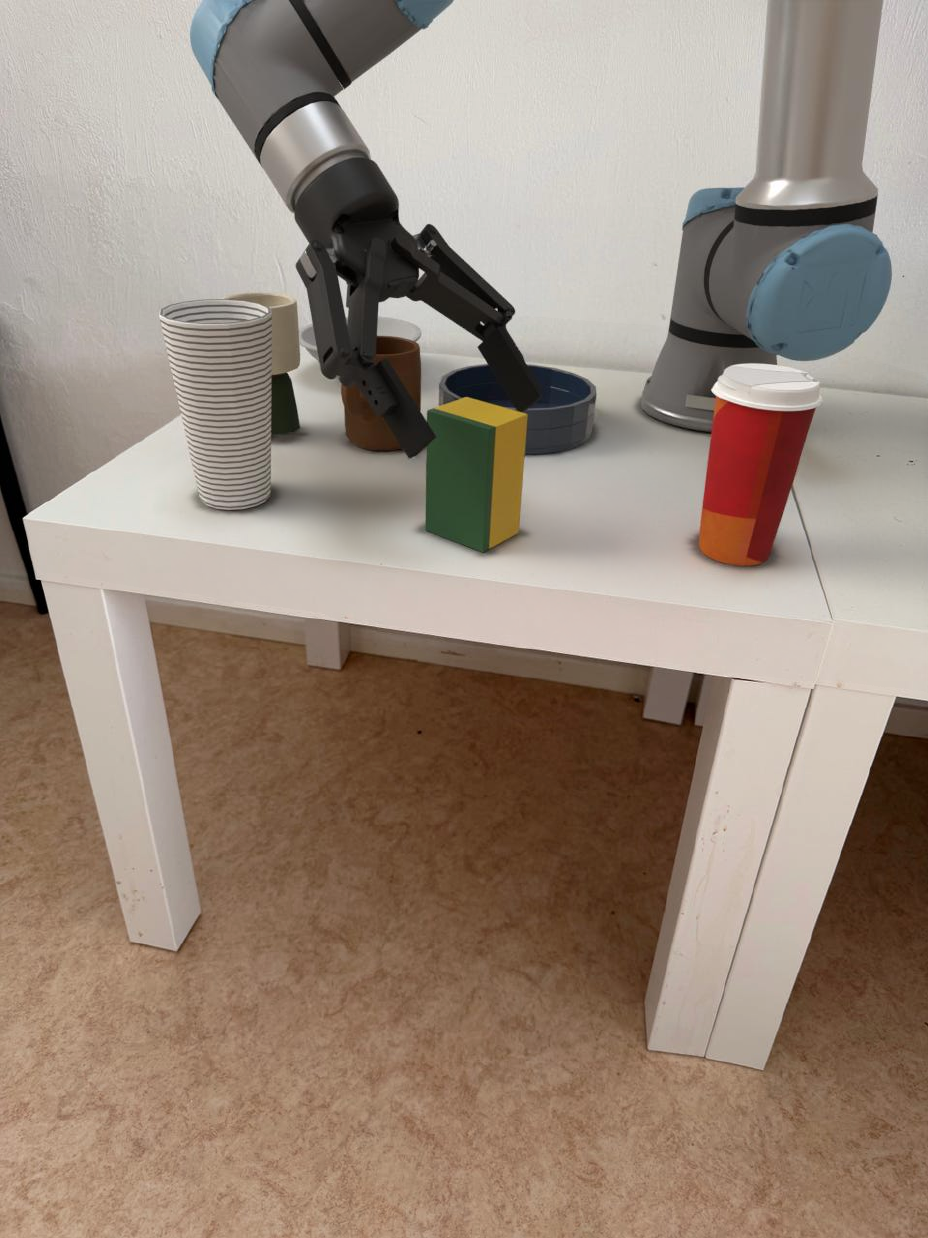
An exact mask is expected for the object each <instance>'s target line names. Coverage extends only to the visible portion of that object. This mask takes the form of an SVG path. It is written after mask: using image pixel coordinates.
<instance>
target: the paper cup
mask: <svg viewBox="0 0 928 1238" xmlns="http://www.w3.org/2000/svg"><path fill="white" fill-rule="evenodd" d="M820 387H821V383H820V381H818V380H817V379H816V378H814V377H813V376H812V375H811V374H809V372H807V371H804V370H801V369H797V368H794V367H790V366H785V365H784V366H783V365H778V364H777V365H771V364H757V363H749V364H737V365H732V366H730V367H728V368H726V369H725V370H724V373H723V375H722V376H720V377H719V378H718V381H717V382H716V383H715V385H714V386H713V388H712V389H711V391H712V392H713V393H714V394H715V395H716V401H715V409H714V417H713V425H712V432H710V433H711V434H710V440H709V441H710V442H709V449H708V450H709V451H708V457H707V465H706V473H705V482H704V490H703V497H702V506H701V514H700V522H699V532H698V548H699V550H700V552H701V553H702V554H703V555H704V556H706V557H708V558H709V559H712V560H714V561H716V562H719V563H721V564H725V565H731V566H739V567H749V566H755V565H756V566H757V565H760V564H762V563H765V562H766V561H767V560H768V559H769V557H770V555H771V552H772V549H773V546H774V544H775V540H776V537H777V534H778V532H779V528H780V525H781V522H782V519H783V515H784V512H785V508H786V506H787V502H788V501H789V500H788V499H789V496H790V493H791V490H792V487H793V484H794V481H795V478H796V475H797V471H798V468H799V464H800V462H801V458H802V454H803V452H804V448H805V444H806V441H807V437H808V434H809V431H810V427H811V425H812V421H813V419H814V415H815V412H816V408H818V407H820V406H821V405H822V404H823V397H822V394H821V393H820V391H821V390H820Z"/></svg>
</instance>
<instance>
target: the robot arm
mask: <svg viewBox="0 0 928 1238" xmlns="http://www.w3.org/2000/svg"><path fill="white" fill-rule="evenodd" d="M454 1H455V0H202V1H201V2H200V4H199V5H198V7H197V9H196V10H195V12H194V15H193V18H192V21H191V24H190V29H189V39H190V40H189V41H190V47H191V50H192V53H193V56H194V57H195V59H196V61H197V63H198V65H199V67H200V68H201V70H202V72H203V74H204V75H205V77H206V79H207V81H208V83H209V84H210V86H211V91H212V94H213V95H214V96H215V98H216V100H218V101H219V103H220V105H221V106H222V108H223V109H224V111H225V112H226V114H227V115H228V117H229V119H230V120H231V121H232V123H233V125H234V126H235V128H236V130H237V131H238V132H239V134H240V135H241V137H242V138H243V140H244V142H245V143H246V145H247V147H248V148H249V149H250V151H251V153H252V154H253V156H254V157H255V158H256V160H257V162H258V163H259V165H260V167H261V168H262V170H263V171H264V172H265V174H266V176H267V177H268V179H269V181H270V182H271V183H272V185H273V187H274V188H275V190H276V192H277V193H278V195H279V197H280V198H281V200H282V202H283V203H284V205H285V206H286V207H287V209H288V211H289V212H290V213H292V214H293V215H294V216H293V217H294V221H295V224H296V225H297V227H298V228H299V229H300V231H301V233H302V235H303V236H304V238H305V239H306V241H307V242H308V245H307V246H306V248H305V249H304V250H303V252H302V253H301V255H300V257H299V258H298V260H297V261H296V263H295V269H296V271H297V273H298V276H299V277H300V280H301V281H302V283H303V285H304V287H305V289H306V293H307V294H306V295H307V300H308V305H309V312H310V316H311V322H312V323H311V324H313V328H314V334H315V340H316V346H317V351H318V357H319V361H318V363H319V368H320V372H321V374H322V375H323V377H325V378H326V379H328V380H335V378H336V377H338V378H339V379H338V380H339V382H340V384H342V385H344V386H345V387H348V388H350V387H352V386H354V384H355V383H356V384H357V386H358V387H359V389H360V391H361V392H362V394H363V395H364V397H365V399H367V402H368V403H369V404H370V407H371V408H372V410H373V411H374V413H375V414H377V415H378V416H379V417H383V418H384V420H385V421H386V423H387V425H388V426H389V428H390V429H391V431H392V433H393V434H394V436H395V437H396V439H397V440H398V442H399V444H400V445H401V447H402V450H403V452H404V453H405V455H406V457H407V458H408V460H410V459H412V458H415V457H417V456H418V455H419V454H420V453H422V451H423V450H424V449H425V448H426V447H427V445H429V444H430V443H431V442H432V441H433V440H434V439H435V438H436V436H435V434H434V432H433V431H432V429H431V428H430V426H429V424H428V423H427V419H426V418H425V416H424V415H423V413H422V412H420V410H419V408H418V407H417V405H416V404H415V402H414V400H413V399H412V397H411V396H410V394H409V392H408V391H407V389H406V388H405V386H404V384H403V383H402V381H401V380H400V378H399V376H398V375H397V373H396V372H395V370H394V368H393V367H392V365H391V364H390V362H389V361H388V359H384V360H380V361H379V362H378V363H377V365H375V364H374V361H375V359H376V344H377V325H378V317H379V303H383V302H386V301H387V300H388V299H402V298H405V297H406V298H408V299H409V300H410V301H412V302H420V301H421V302H423V304H425V305H427V306H429V307H430V308H431V309H434V310H435V311H436V312H438V313H439V314H441V315H442V316H443V317H446V318H447V319H448V320H450V321H451V322H453V323H454V324H456V325H457V326H459V327H460V328H462V329H463V330H465V331H466V332H468V333H470V334H471V335H472V336H473V337H475V338H477V339H478V340H480V341H481V343H480V344H478V346H477V349H478V351H479V353H480V354H481V356H482V358H483V359H484V360H485V362H486V364H488V365H489V367H490V368H491V370H492V372H493V373H494V375H495V376H496V378H497V380H498V381H499V383H500V384H501V386H502V388H503V389H504V391H505V392H506V394H507V396H508V397H509V399H510V400H511V402H512V404H513V405H514V407H515V408H516V410H517V411H518V412H522V413H523V412H525V411H526V410H527V409H529V408H530V407H531V406H532V405H533V404H535V403H536V402H537V401H538V400H539V399H540V398H542V397H543V396H544V395H545V393H544V391H543V390H542V388H541V386H540V385H539V383H538V382H537V380H536V378H535V377H534V375H533V374H532V372H531V371H530V369H529V367H528V366H527V362H526V359H525V358H524V357H525V356H524V355H523V353H522V352H521V350H520V349H519V347H518V345H517V343H516V342H515V341H514V339H513V337H512V336H511V334H510V333H509V331H508V329H507V325H508V323H509V322H510V321H511V320H512V319H513V316H515V314H516V308H515V307H514V305H513V304H511V303H510V302H509V301H508V300H507V299H506V298H505V297H504V296H503V295H502V294H501V293H500V292H499V291H498V290H497V289H496V288H495V287H493V286H492V285H491V284H490V283H489V282H488V281H487V280H486V279H485V278H484V277H483V276H482V275H481V274H479V273H478V272H477V271H476V270H475V268H473V267H472V266H471V265H470V264H469V263H468V262H466V260H464V258H463V257H461V256H460V255H459V254H458V253H457V252H456V251H455V250H454V249H453V248H451V246H450V245H449V244H448V243H447V240H445V238H444V237H443V235H442V234H441V233H440V232H439V230H438V229H437V228H436V227H435V226H434V225H433V224H431V223H427V224H426V225H424V227H423V228H422V229H421V231H420V232H419V233H415V234H412V233H410V231H408V230H407V229H406V228H405V227H404V226H403V224H402V223H401V222H400V214H399V213H400V201H399V197H398V195H397V193H396V192H395V190H394V189H393V187H392V185H391V184H390V182H389V181H388V179H387V178H386V176H385V175H384V173H383V171H382V170H381V168H380V167H379V165H378V163H377V162H376V161H374V160H373V159H372V155H371V151H370V148H368V145H367V144H366V143H365V141H364V140H363V138H362V136H361V135H360V134H359V132H358V131H357V129H356V128H355V126H354V124H353V123H352V120H350V118H349V116H348V115H347V113H346V112H345V110H344V109H343V108H342V107H341V105H340V103H339V102H338V100H337V99H336V96H337V95H339V94H340V93H341V92H342V91H344V90H346V89H347V88H348V87H350V85H352V83H354V82H355V80H357V79H359V78H360V77H361V76H362V75H364V74H365V73H366V72H368V71H370V69H372V68H373V67H375V66H376V65H377V64H379V63H380V62H382V61H383V60H384V59H386V58H387V57H388V56H390V55H391V54H392V53H394V52H395V51H397V49H398V48H400V47H401V46H403V45H404V44H405V43H406V42H407V41H409V40H410V39H411V38H412V37H414V36H416V35H417V33H419V32H420V31H421V30H426V29H428V28H429V26H430V25H431V24H432V23H433V22H434V20H435V19H436V18H437V17H438V16H439V15H441V14H442V13H443V12H444V11H445V10H446V9H447V8H449V7H450V6H451V5H452V4H453V2H454ZM883 4H884V0H767V1H766V15H765V16H766V17H765V31H764V44H763V60H762V73H761V85H760V86H761V87H760V99H759V100H760V102H759V114H758V115H759V116H758V131H757V146H756V159H755V172H754V175H753V177H752V179H751V180H750V181H749V182H748V184H747V185H746V186H741V187H707V188H701V189H699V190H697V191H695V192H694V193H693V194H692V196H691V197H690V199H689V201H688V205H687V209H686V213H685V217H684V220H683V222H682V224H681V225H682V226H681V230H682V234H681V242H680V247H679V255H678V262H677V268H676V269H677V270H676V276H675V283H674V289H673V297H672V303H671V310H670V317H669V324H668V331H667V336H666V339H665V341H664V343H663V346H662V348H661V350H660V352H659V355H658V357H657V359H656V362H655V365H654V368H653V370H652V374H651V376H649V377H648V378H647V379H646V381H645V383H644V386H643V389H642V395H641V401H640V407H641V409H642V410H643V411H644V412H645V413H646V414H648V415H649V416H650V417H652V418H653V419H656V420H659V421H661V422H663V423H666V424H669V425H672V426H675V427H679V428H683V429H688V430H694V431H699V432H706V433H712V425H713V417H714V409H715V401H716V395H715V394H714V393H713V392H712V391H711V389H712V388H713V386H714V385H715V383H716V382H717V381H718V378H719V377H720V376H722V375H723V373H724V370H725V369H726V368H728V367H730V366H732V365H737V364H749V363H757V364H771V365H778V357H777V356H780V357H782V358H785V359H788V360H790V361H796V362H811V361H812V362H813V361H814V362H815V361H818V360H819V361H820V360H822V359H825V358H830V357H832V356H834V355H836V354H839V353H841V352H842V351H844V350H845V349H847V348H849V347H851V345H853V344H854V343H855V341H856V340H857V339H858V338H860V336H861V335H863V334H864V333H866V332H867V331H868V330H869V329H871V327H872V325H873V324H874V323H875V321H876V320H877V319H878V318H879V316H880V314H881V312H882V310H883V308H884V306H885V304H886V302H887V299H888V297H889V293H890V290H891V285H892V281H893V280H892V278H893V267H892V260H891V257H890V254H889V251H888V249H887V248H886V247H885V246H884V244H883V241H882V240H881V239H880V238H879V236H878V235H877V234H876V233H874V226H875V220H876V219H875V218H876V211H877V204H878V197H879V188H878V187H877V185H875V184H874V182H873V181H872V180H871V179H870V178H869V176H868V175H867V174H866V173H865V172H864V169H863V160H864V154H865V145H866V139H867V131H868V121H869V115H870V106H871V98H872V91H873V84H874V75H875V69H876V59H877V54H878V53H877V52H878V44H879V43H878V42H879V38H880V37H879V36H880V30H881V29H880V28H881V20H882V13H883ZM420 270H421V271H422V272H424V273H422V274H421V276H420ZM339 278H341V279H342V280H343V281H345V284H346V285H347V287H346V298H345V299H346V300H345V307H346V309H347V308H348V311H347V316H346V312H345V307H344V301H343V296H342V291H341V286H340V279H339ZM346 317H348V323H347V322H346Z"/></svg>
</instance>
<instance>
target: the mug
mask: <svg viewBox="0 0 928 1238" xmlns="http://www.w3.org/2000/svg"><path fill="white" fill-rule="evenodd" d="M384 359H388V361H389V362H390V364H391V365H392V367H393V368H394V370H395V372H396V373H397V375H398V376H399V378H400V380H401V381H402V383H403V384H404V386H405V388H406V389H407V391H408V392H409V394H410V396H411V397H412V399H413V400H414V402H415V404H416V405H417V407H418V408H419V410H420V412H421V410H422V408H421V407H422V359H421V347H420V344H419V343H418V342H417V341H416V342H415V341H412V340H409V339H406V338H401V337H393V336H377V344H376V359H375V361H374V364H375V365H377V363H378V362H379V361H380V360H384ZM340 384H341V385H340V394H341V401H342V405H343V412H344V413H343V414H344V415H343V416H344V431H345V436H346V438H347V440H348V441H349V442H350V443H351V444H352V445H354V446H356V447H358V448H361V449H364V450H365V449H366V450H370V451H384V452H385V451H397V450H403V448H402V447H401V445H400V444H399V442H398V440H397V439H396V437H395V436H394V434H393V433H392V431H391V429H390V428H389V426H388V425H387V423H386V421H385V420H384V418H383V417H379V416H378V415H377V414H375V413H374V411H373V410H372V408H371V407H370V404H369V403H368V402H367V399H365V397H364V395H363V394H362V392H361V391H360V389H359V387H358V386H357V384H356V383H355V384H354V386H352V387H350V388H348V387H345V386H344V385H342V383H340ZM421 413H422V412H421Z"/></svg>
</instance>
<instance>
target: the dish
mask: <svg viewBox="0 0 928 1238" xmlns="http://www.w3.org/2000/svg"><path fill="white" fill-rule="evenodd" d="M345 317H346V322H347V323H348V316H345ZM377 336H393V337H401V338H406V339H409V340H412V341H415V342H416V343H417V341H419V340H420V339H421V337H422V330H421V329H420V327H419V326H418V325H416V324H414V323H412V322H410V321H407V320H403V319H399V318H394V317H386V316H378V325H377ZM299 344H300V347H303V348H305V350H306V351H307V352H308V354H310V355H311V356H312V357H313V358H314V359H315V360H316V361H317V362H319V357H318V351H317V346H316V340H315V334H314V328H313V323H310V324H308V325H306V326H304V327H302V328H300V329H299Z"/></svg>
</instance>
